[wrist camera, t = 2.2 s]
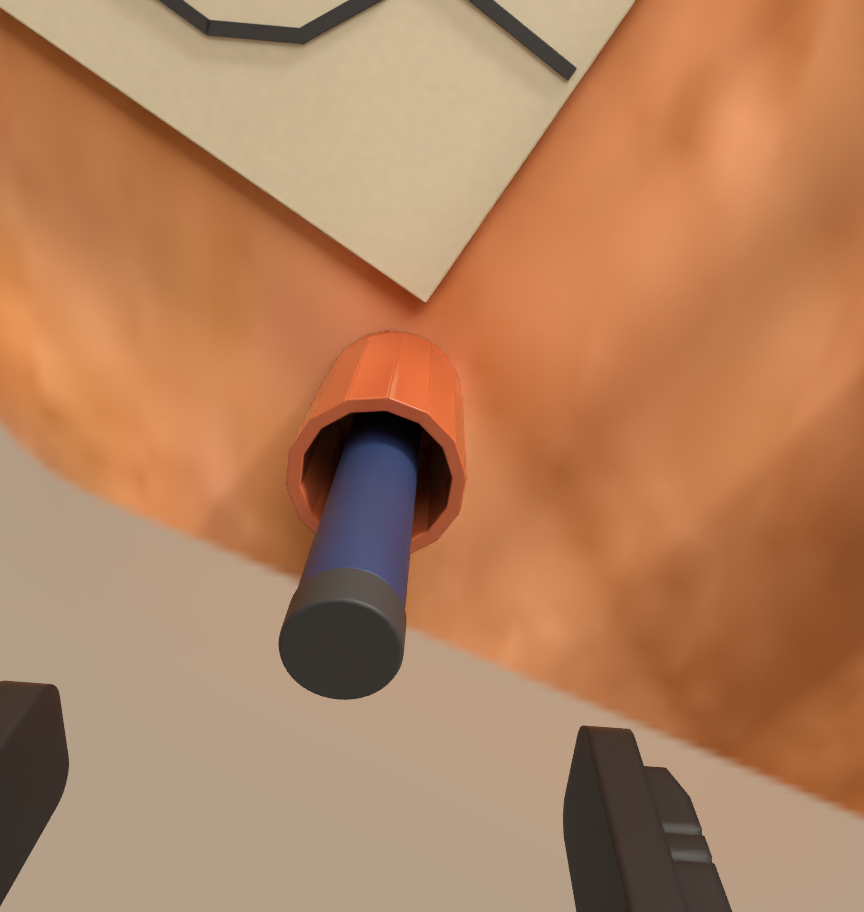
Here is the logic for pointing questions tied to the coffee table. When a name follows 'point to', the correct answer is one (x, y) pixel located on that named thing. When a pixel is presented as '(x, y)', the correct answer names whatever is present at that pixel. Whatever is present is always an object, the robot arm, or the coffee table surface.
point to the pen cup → (396, 391)
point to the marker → (358, 566)
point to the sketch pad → (350, 101)
